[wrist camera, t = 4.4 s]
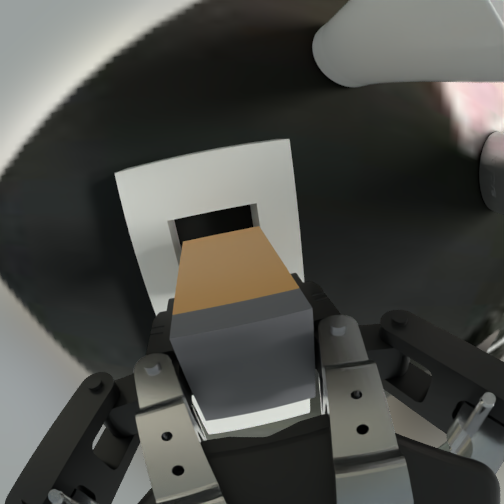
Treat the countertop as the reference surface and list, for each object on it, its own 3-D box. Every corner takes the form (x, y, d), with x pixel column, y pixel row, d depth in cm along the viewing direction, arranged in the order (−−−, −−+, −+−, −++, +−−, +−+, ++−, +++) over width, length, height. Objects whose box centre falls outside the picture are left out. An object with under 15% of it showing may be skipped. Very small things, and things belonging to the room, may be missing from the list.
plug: (258, 226, 15) (312, 308, 8) (268, 292, 17) (315, 396, 9) (183, 241, 15) (169, 338, 8) (200, 306, 16) (206, 421, 9)
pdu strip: (276, 139, 18) (290, 139, 15) (301, 391, 28) (310, 414, 25) (126, 168, 17) (113, 173, 14) (206, 411, 27) (209, 436, 24)
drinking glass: (383, 103, 18) (563, 106, 5) (301, 93, 17) (488, 39, 4) (377, 27, 16) (530, -22, 2) (296, 10, 15) (428, -106, 1)
